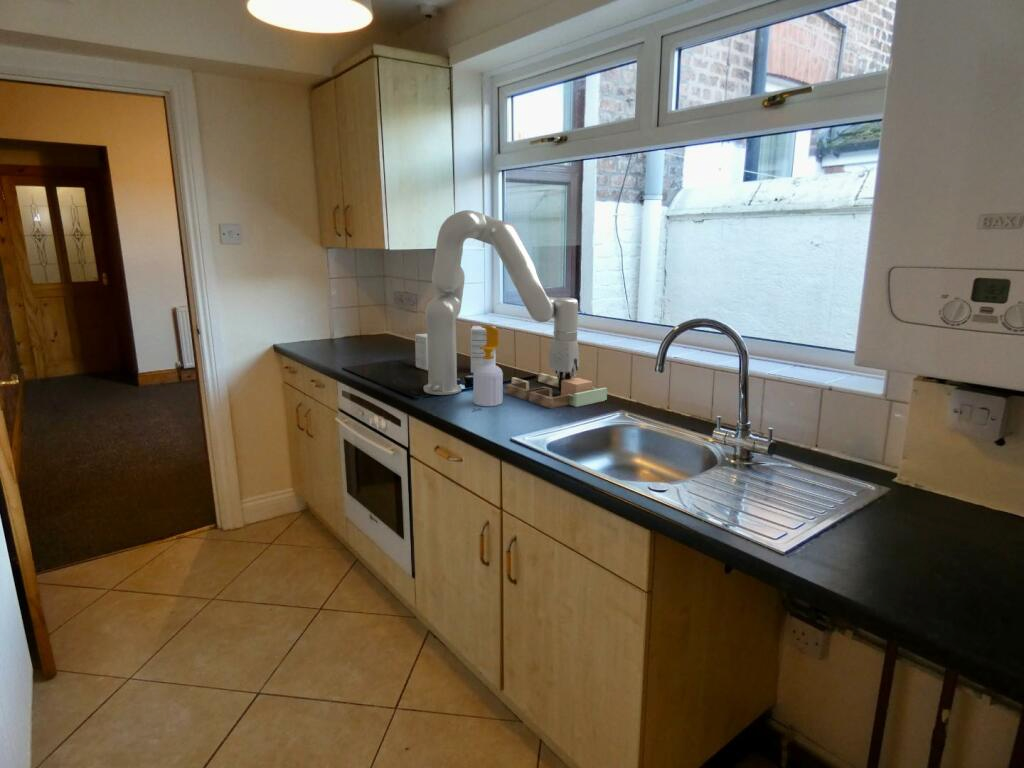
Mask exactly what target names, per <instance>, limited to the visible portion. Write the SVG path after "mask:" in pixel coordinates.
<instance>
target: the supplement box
mask: <svg viewBox="0 0 1024 768" xmlns="http://www.w3.org/2000/svg"><path fill="white" fill-rule="evenodd" d="M481 326H482V325H473V326H472V327H471V328H470V373H471V374H473V373H474V370H475V369H476V368H477V367H478V366H480V365H481V364H482V363H483V356H486V352H484V350H483V349H480V347H483V346H486V342H487V332H486V329H485V328H482V327H481ZM491 327H494V328H497V326H495V325H494V326H491ZM496 349H497V348H496ZM496 349H493V352H491V356H493V358H494V364H495V365H496V362H497V361H496V356H497V355H496V353H497V352H496Z"/></svg>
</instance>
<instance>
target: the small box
mask: <svg viewBox="0 0 1024 768" xmlns="http://www.w3.org/2000/svg"><path fill="white" fill-rule="evenodd" d="M414 340H415V341H414V343H415V344H414V347H415V367H416V368H418V369H422V370H425V371H428V345H427V332H426V333H417V334H414Z"/></svg>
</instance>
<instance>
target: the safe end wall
mask: <svg viewBox="0 0 1024 768" xmlns="http://www.w3.org/2000/svg"><path fill="white" fill-rule="evenodd" d="M607 399H608V387H601V388H597V389H594V390H589V391H584V392H579V393H574V406H573V407H575V408H577V407H581V406H586V405H592V404H595V403H601V402H605V400H606V401H607Z"/></svg>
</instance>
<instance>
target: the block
mask: <svg viewBox="0 0 1024 768" xmlns="http://www.w3.org/2000/svg"><path fill="white" fill-rule="evenodd" d="M592 387H593V381H591V380H588V379H584V378H580V377H571V379H566V380H562V381H561V391H560V396H561V395H566V394H571V395H574V393H579V392H584V391H589V390H592Z"/></svg>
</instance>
